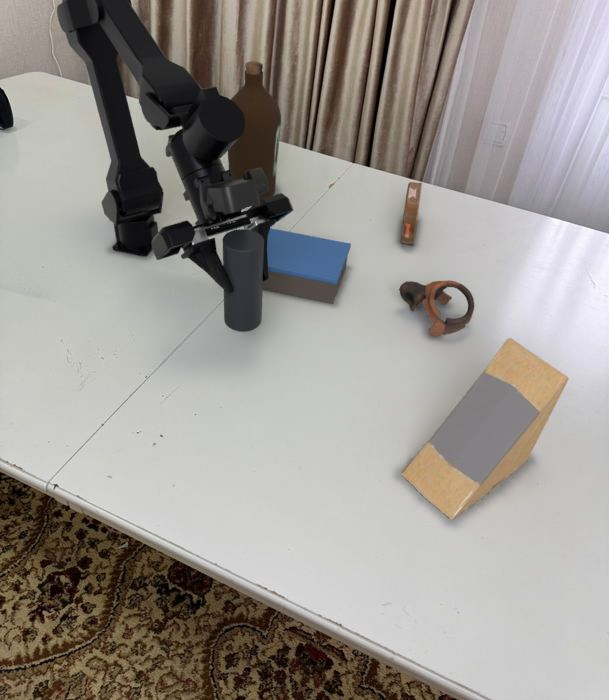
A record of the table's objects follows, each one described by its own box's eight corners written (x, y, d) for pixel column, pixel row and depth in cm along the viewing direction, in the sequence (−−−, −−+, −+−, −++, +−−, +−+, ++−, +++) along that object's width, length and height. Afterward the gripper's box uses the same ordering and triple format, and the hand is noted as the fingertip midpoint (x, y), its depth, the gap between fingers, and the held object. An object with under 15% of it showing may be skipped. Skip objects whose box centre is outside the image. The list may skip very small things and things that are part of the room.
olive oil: (230, 204, 124) (228, 73, 107) (223, 179, 131) (221, 54, 115) (282, 201, 126) (288, 73, 109) (273, 177, 134) (277, 54, 117)
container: (248, 288, 103) (249, 262, 100) (268, 252, 112) (269, 227, 108) (334, 305, 101) (337, 280, 98) (347, 267, 110) (351, 243, 106)
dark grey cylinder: (220, 329, 85) (218, 248, 76) (227, 306, 89) (226, 227, 80) (258, 333, 85) (260, 253, 76) (263, 310, 89) (266, 231, 80)
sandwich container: (398, 473, 77) (422, 387, 67) (477, 419, 84) (508, 335, 74) (451, 522, 72) (485, 437, 62) (529, 460, 80) (570, 376, 70)
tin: (412, 253, 115) (421, 212, 109) (395, 250, 115) (403, 209, 109) (418, 214, 126) (426, 175, 120) (402, 211, 126) (410, 173, 121)
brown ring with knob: (462, 305, 104) (485, 285, 97) (449, 355, 101) (471, 338, 93) (397, 278, 104) (415, 256, 96) (381, 327, 100) (398, 308, 92)
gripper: (153, 166, 69) (207, 297, 70) (289, 134, 78) (335, 250, 79) (130, 200, 79) (178, 314, 80) (253, 168, 88) (295, 271, 89)
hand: (248, 286), depth 82 cm, fingers closed on dark grey cylinder, 5 cm apart
